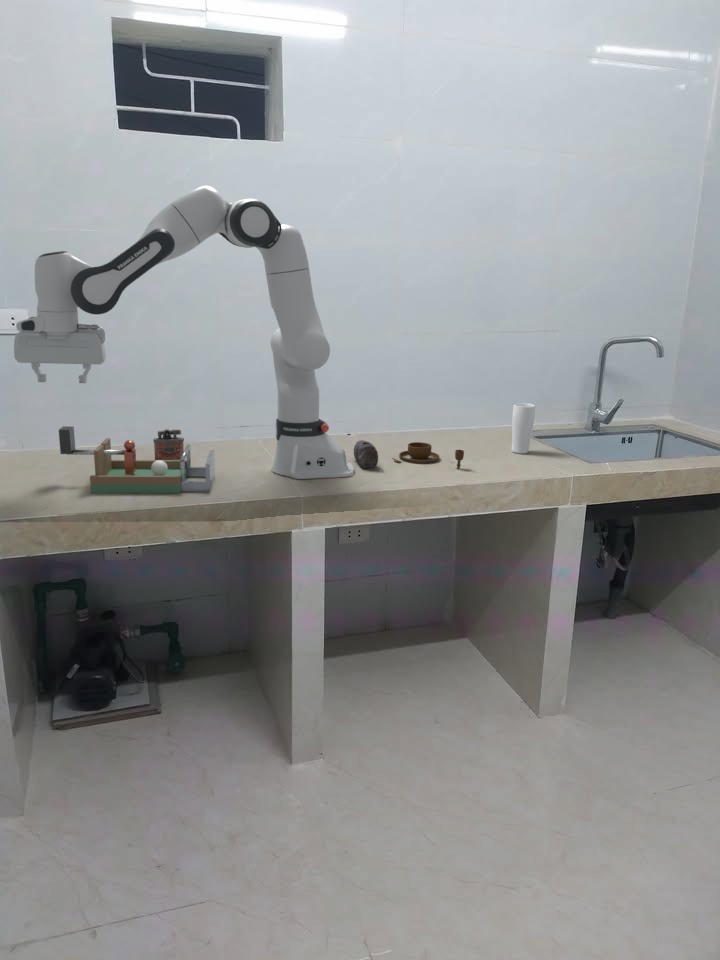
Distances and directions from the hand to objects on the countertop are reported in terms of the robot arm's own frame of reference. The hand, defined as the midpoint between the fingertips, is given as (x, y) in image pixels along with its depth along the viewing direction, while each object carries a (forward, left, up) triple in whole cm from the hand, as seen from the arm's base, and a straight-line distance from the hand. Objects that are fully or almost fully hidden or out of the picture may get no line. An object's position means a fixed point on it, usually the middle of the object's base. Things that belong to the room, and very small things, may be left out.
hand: (62, 382), depth 178 cm
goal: (-31, 0, -25) cm, 40 cm away
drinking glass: (-127, -35, -25) cm, 134 cm away
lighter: (-22, -18, -25) cm, 38 cm away
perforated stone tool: (-76, -20, -26) cm, 82 cm away
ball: (-22, 0, -21) cm, 30 cm away
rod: (-7, 0, -22) cm, 23 cm away
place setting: (-94, -22, -26) cm, 100 cm away
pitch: (-17, 0, -25) cm, 30 cm away
